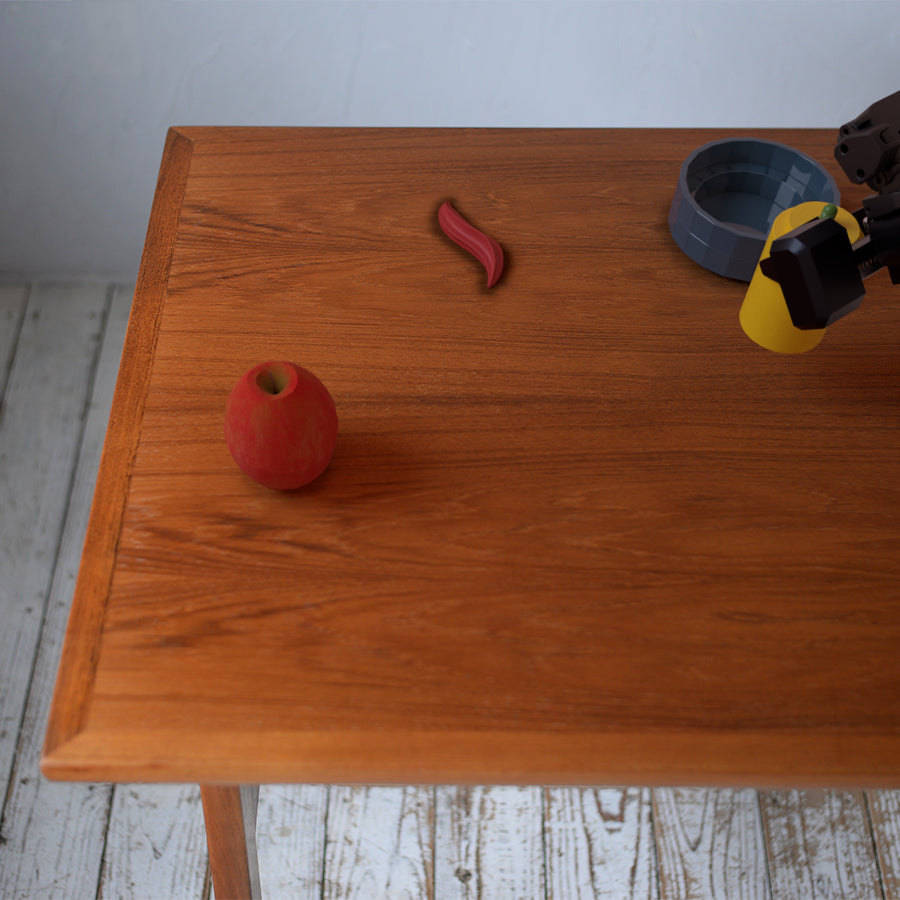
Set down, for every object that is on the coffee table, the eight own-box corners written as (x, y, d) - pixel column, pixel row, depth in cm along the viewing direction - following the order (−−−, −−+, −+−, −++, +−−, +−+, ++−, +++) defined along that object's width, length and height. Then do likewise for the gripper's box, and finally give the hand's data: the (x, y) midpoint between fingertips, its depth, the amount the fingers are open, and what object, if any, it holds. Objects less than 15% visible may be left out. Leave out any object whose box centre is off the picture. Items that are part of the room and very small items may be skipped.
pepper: (839, 322, 76) (898, 204, 67) (796, 367, 73) (852, 251, 64) (767, 281, 79) (814, 162, 69) (722, 323, 76) (766, 205, 66)
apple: (313, 405, 77) (301, 311, 68) (361, 480, 73) (354, 389, 64) (217, 446, 74) (191, 353, 66) (261, 526, 70) (240, 438, 62)
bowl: (822, 201, 94) (843, 154, 89) (815, 301, 86) (837, 255, 81) (677, 172, 96) (690, 124, 91) (656, 267, 87) (669, 220, 83)
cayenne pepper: (513, 284, 86) (514, 268, 84) (462, 292, 85) (463, 276, 83) (480, 197, 92) (481, 181, 91) (433, 203, 92) (433, 187, 90)
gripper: (1051, 33, 59) (846, 102, 73) (848, 136, 52) (665, 190, 66) (1093, 206, 61) (888, 241, 76) (905, 326, 55) (718, 339, 69)
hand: (794, 249), depth 71 cm, fingers closed on pepper, 6 cm apart
